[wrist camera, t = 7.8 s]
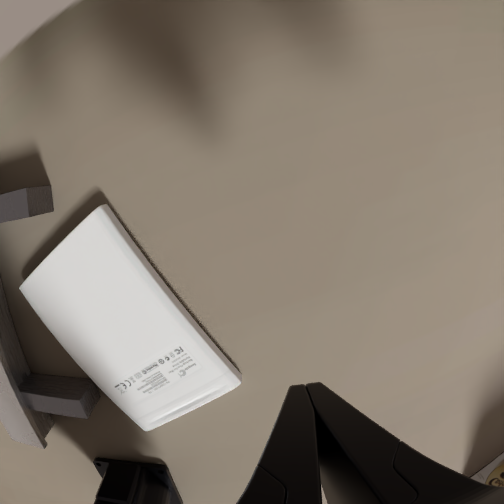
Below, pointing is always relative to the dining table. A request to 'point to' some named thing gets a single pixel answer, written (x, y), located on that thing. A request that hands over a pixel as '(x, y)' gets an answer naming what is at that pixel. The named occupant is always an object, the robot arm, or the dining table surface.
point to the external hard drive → (126, 324)
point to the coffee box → (492, 473)
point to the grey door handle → (14, 363)
